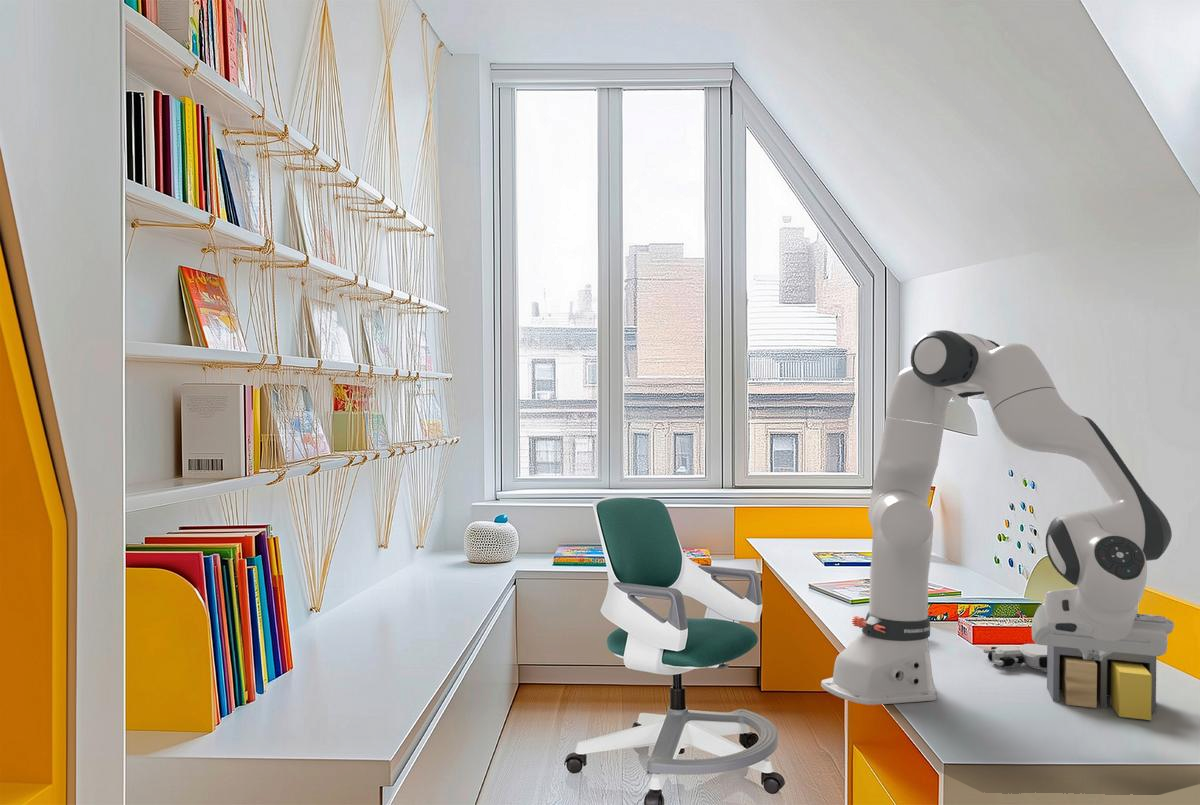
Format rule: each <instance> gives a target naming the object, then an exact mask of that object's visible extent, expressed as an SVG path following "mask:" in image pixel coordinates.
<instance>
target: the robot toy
mask: <svg viewBox="0 0 1200 805" xmlns="http://www.w3.org/2000/svg"><path fill="white" fill-rule="evenodd" d="M982 651H983V653H984V654H987V658H988V661H990V662H991V663H992V664H995V665H997V666H1000V667H1002V668H1003V669H1004V668H1005V669H1013V668H1014V667H1015V668H1016V667H1021V666H1022V665H1026V666H1028V667H1030V668H1033V669H1038V670H1039V671H1040V672H1043V673H1047V645H1038V644H1036V643H1024V644H1021V646H1019V647H1017V646H1014V645H1013V646H1012V645H1011V646H1010V645H999V646H998V647H997V646H991V648H984V649H983V650H982Z"/></svg>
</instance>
